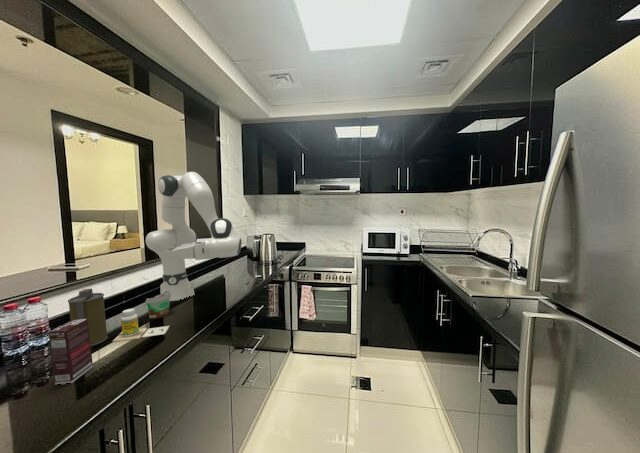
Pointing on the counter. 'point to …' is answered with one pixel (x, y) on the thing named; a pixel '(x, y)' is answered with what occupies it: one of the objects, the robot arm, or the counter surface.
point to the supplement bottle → (129, 323)
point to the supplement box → (70, 351)
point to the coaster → (136, 336)
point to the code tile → (156, 331)
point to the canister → (90, 314)
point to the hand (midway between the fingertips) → (165, 251)
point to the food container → (159, 305)
